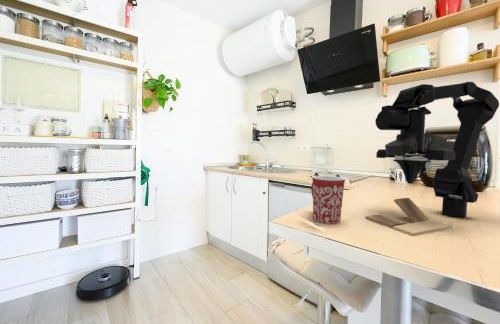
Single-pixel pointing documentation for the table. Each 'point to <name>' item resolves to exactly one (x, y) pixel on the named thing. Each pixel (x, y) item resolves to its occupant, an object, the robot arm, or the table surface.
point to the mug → (327, 198)
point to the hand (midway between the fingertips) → (410, 183)
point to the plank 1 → (385, 220)
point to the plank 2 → (411, 210)
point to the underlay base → (422, 227)
